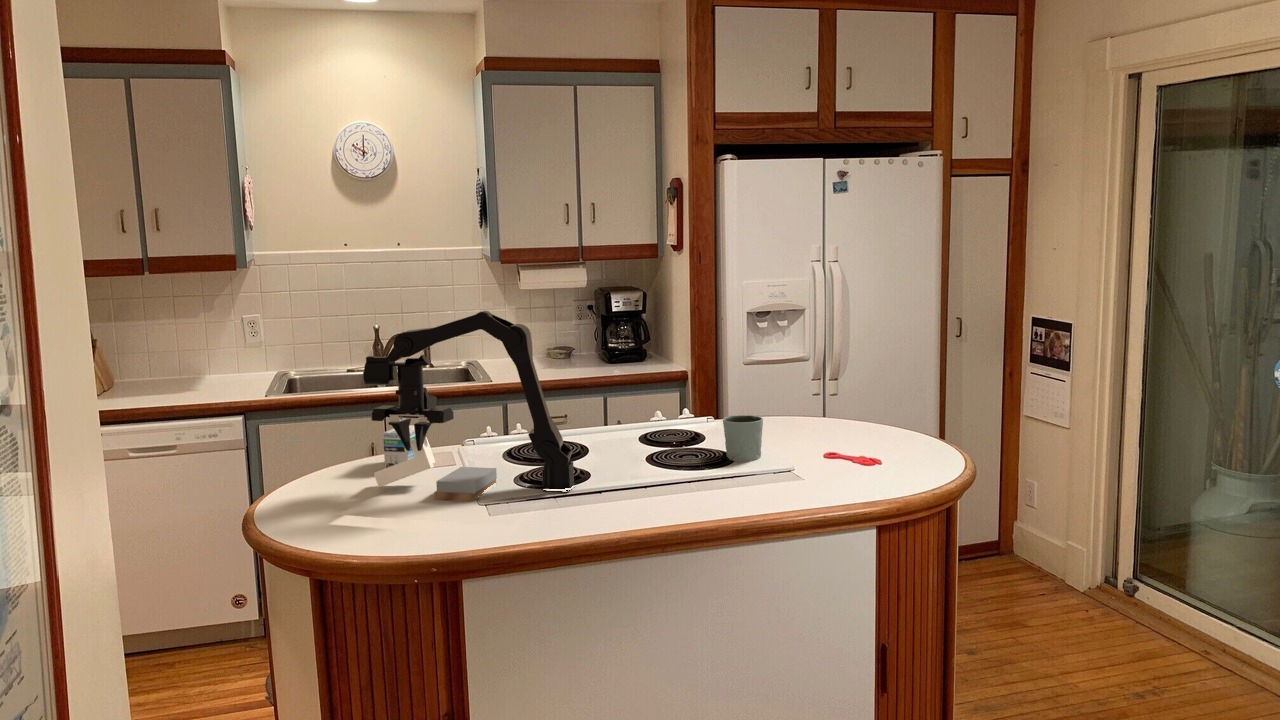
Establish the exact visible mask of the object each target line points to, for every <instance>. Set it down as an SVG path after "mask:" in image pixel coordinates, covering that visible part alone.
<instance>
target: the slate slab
mask: <svg viewBox="0 0 1280 720" xmlns="http://www.w3.org/2000/svg"><path fill="white" fill-rule="evenodd" d="M497 471H498V470H497V467H473V466H460V467H459V468H456V469H455V470H453V471H452V472H450V473H448V474H447V475H444V476H442V477H441V478H440V479H438V480H436V482H435V483H436V491H437V492H448V493H470V494H474V493H476V492H477V491H479V490H480V489H482V488H483V487H485V486H486V485H488V484H489V483H491V482H492V481H494V480H495V479H496V480H497V477H498V476H497V475H498V473H497Z"/></svg>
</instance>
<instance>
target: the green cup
mask: <svg viewBox="0 0 1280 720" xmlns="http://www.w3.org/2000/svg"><path fill="white" fill-rule="evenodd" d="M722 422H723V423H722V425H723V433H724V434H723V435H724V440H725V443H724V444H725V450H726V451H725V452H726V458H727V457H728V458H729V459H728V458H727V459H728V460H730V461H733V462H740V463H741V462H754V461H757V460H759V459H761V457H762V439H763V438H762V437H763V429H764V428H763V425H764V418H763V417H762V416H759V415H753V414H737V415H728V416H726V417H723V418H722Z"/></svg>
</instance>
